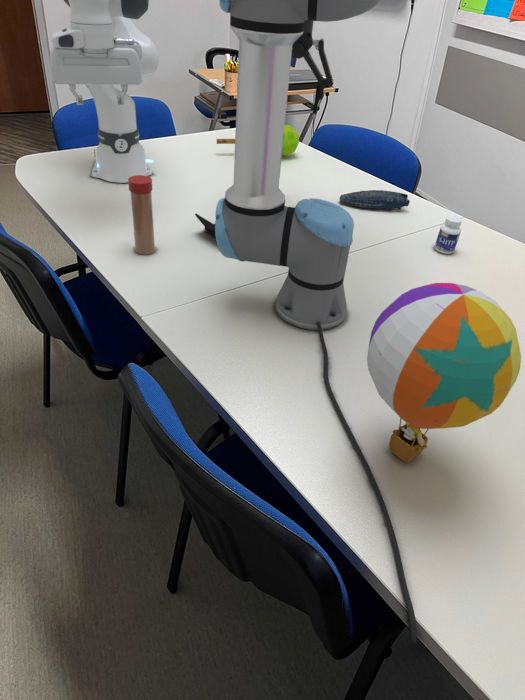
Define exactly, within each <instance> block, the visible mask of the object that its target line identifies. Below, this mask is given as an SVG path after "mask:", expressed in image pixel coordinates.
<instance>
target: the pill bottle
mask: <svg viewBox="0 0 525 700" xmlns="http://www.w3.org/2000/svg"><path fill="white" fill-rule="evenodd" d="M462 222H463V219H461V218H460V217H458V216H455V215H448V216H446V218H445V220H444V223H443V224H442V225H440V228H439V231H438V234H437V237H436V240H435V243H434V250H435V251H437V252H439V253H441V254H447V255H449V254H453V253H454V252H455V250H456V247H457V244H458V242H459V239H460V236H461V233H462V229H461V225H462Z"/></svg>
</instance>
